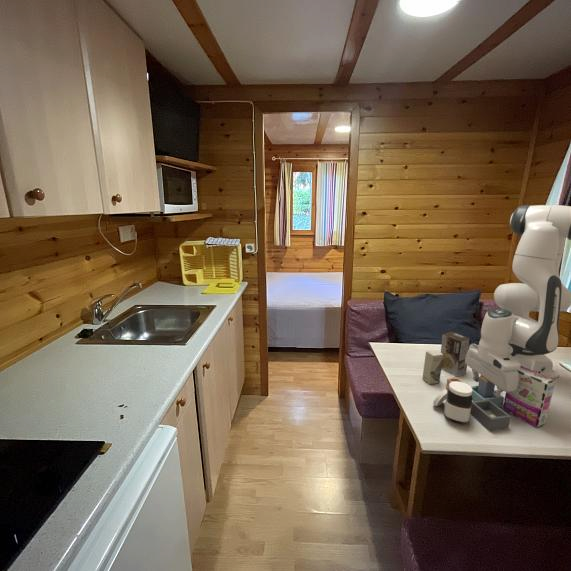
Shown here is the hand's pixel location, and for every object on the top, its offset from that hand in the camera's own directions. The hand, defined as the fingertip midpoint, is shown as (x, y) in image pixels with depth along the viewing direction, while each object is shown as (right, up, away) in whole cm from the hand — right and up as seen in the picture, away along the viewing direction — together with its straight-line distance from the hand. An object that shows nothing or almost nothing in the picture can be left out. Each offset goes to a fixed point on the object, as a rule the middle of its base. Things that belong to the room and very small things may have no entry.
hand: (486, 388), depth 113 cm
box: (-13, -2, +14) cm, 20 cm away
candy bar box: (+8, -7, -7) cm, 13 cm away
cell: (0, -4, +1) cm, 5 cm away
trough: (0, -5, +1) cm, 5 cm away
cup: (-8, -4, +6) cm, 11 cm away
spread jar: (-16, -7, -5) cm, 18 cm away
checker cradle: (-5, -8, -9) cm, 13 cm away
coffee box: (-1, 0, +22) cm, 22 cm away
